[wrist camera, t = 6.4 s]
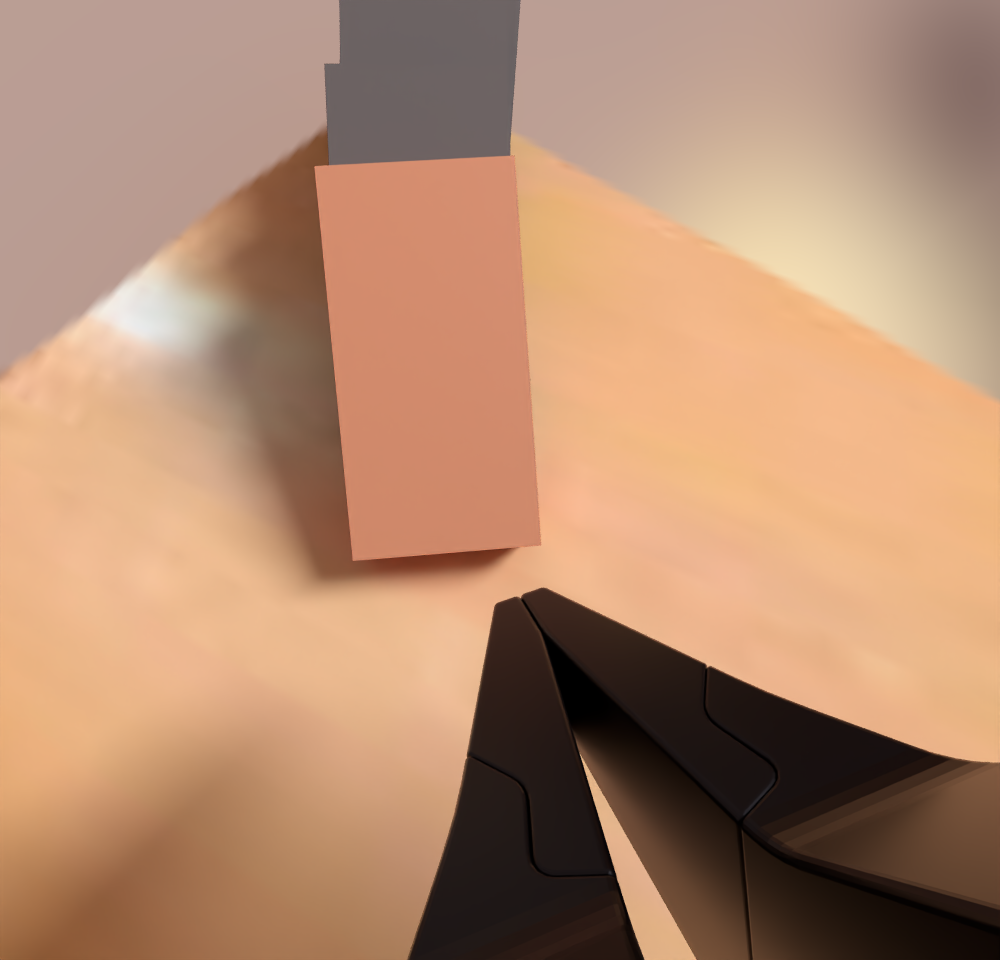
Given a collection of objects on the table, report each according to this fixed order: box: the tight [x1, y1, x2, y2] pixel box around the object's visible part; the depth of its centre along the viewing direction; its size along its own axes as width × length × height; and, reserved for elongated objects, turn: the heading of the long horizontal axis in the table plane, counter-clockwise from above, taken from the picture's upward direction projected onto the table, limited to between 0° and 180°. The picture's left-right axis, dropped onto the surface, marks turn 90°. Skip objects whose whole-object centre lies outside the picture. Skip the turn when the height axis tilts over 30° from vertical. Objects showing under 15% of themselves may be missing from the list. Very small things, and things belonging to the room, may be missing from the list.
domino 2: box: [325, 64, 510, 165], centre depth 17 cm, size 2×5×10 cm
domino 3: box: [314, 155, 541, 561], centre depth 16 cm, size 2×5×10 cm
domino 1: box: [339, 0, 509, 65], centre depth 18 cm, size 2×5×10 cm
